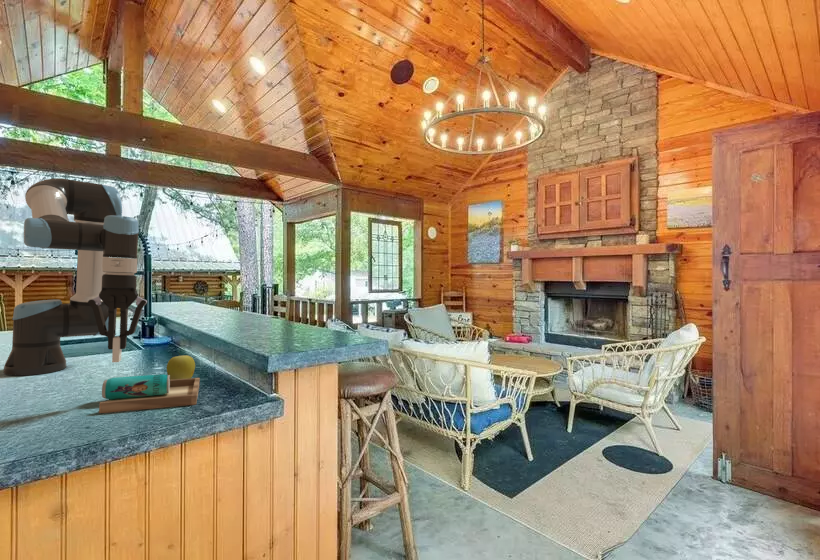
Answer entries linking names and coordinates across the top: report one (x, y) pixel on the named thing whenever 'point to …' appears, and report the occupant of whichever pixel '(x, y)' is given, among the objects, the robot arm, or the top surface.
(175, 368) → the apple
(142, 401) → the wooden tray
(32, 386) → the top surface
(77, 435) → the top surface
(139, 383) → the beverage can
